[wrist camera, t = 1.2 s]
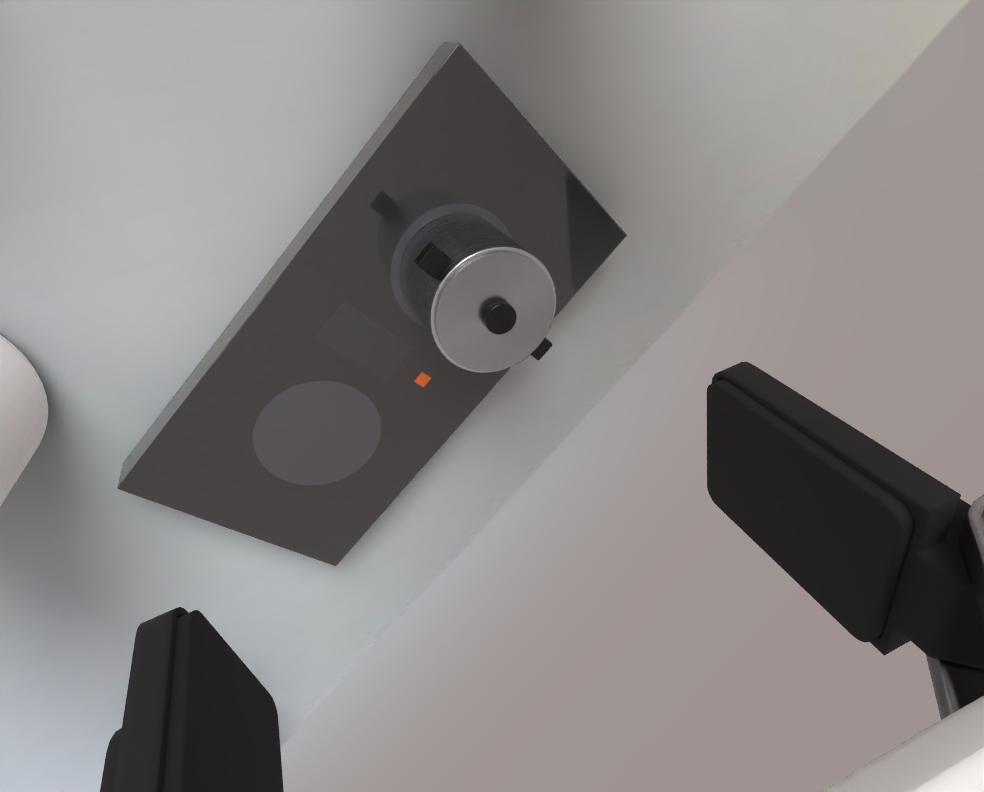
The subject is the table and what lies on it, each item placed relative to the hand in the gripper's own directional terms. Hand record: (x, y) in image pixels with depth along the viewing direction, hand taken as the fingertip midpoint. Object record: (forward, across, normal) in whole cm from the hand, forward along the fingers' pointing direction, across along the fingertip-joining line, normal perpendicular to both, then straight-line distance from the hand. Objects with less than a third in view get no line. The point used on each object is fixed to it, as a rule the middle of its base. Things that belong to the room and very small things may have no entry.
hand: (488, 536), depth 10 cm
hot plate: (+27, -1, +9) cm, 28 cm away
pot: (+24, -6, +6) cm, 26 cm away
